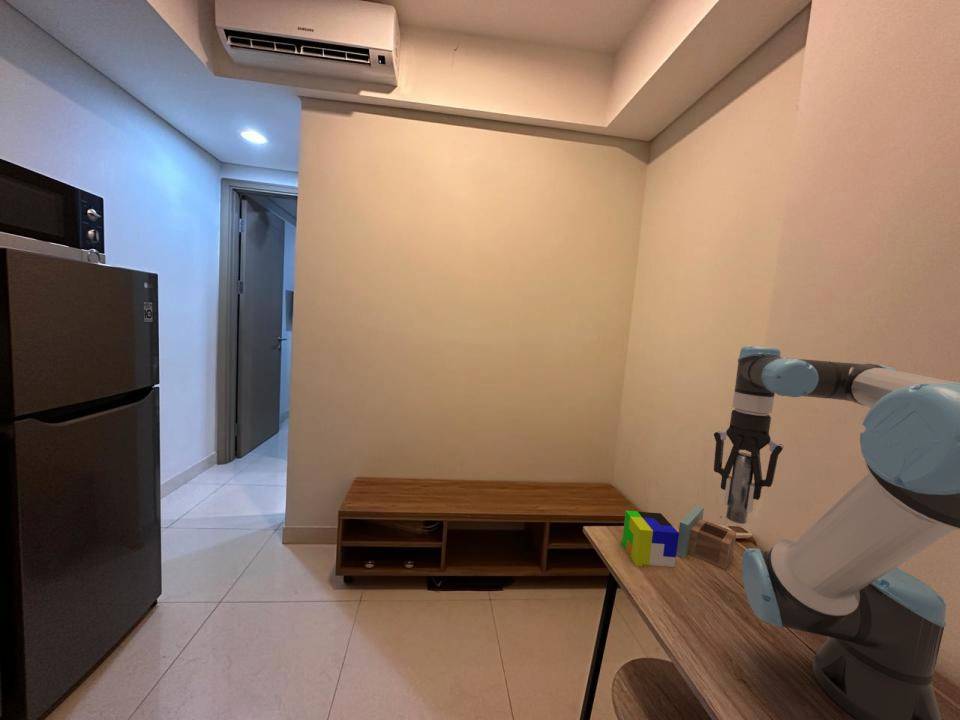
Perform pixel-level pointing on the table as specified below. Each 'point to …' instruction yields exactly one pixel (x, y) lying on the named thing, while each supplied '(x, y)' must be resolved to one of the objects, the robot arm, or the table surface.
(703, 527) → the brown wooden box
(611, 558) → the table surface
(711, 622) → the table surface
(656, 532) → the puzzle toy
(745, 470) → the dowel
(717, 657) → the table surface
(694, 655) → the table surface
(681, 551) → the backstop
